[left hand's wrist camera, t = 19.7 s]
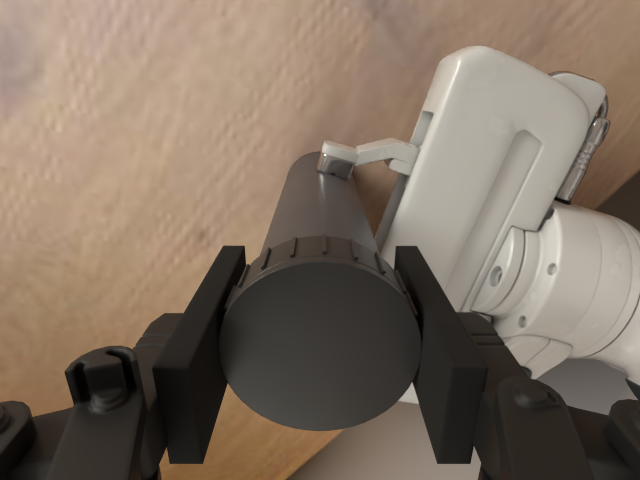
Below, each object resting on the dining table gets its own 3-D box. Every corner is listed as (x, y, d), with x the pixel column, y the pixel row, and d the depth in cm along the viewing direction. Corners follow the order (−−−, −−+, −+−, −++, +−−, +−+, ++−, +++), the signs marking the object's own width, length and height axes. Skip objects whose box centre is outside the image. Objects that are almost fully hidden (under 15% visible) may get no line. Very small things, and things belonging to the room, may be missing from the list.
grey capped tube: (320, 136, 27) (321, 226, 10) (367, 185, 28) (436, 337, 11) (272, 185, 28) (202, 336, 11) (319, 230, 29) (319, 426, 13)
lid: (413, 381, 13) (426, 425, 12) (246, 395, 13) (236, 440, 12) (408, 223, 11) (424, 248, 9) (212, 243, 11) (193, 271, 10)
